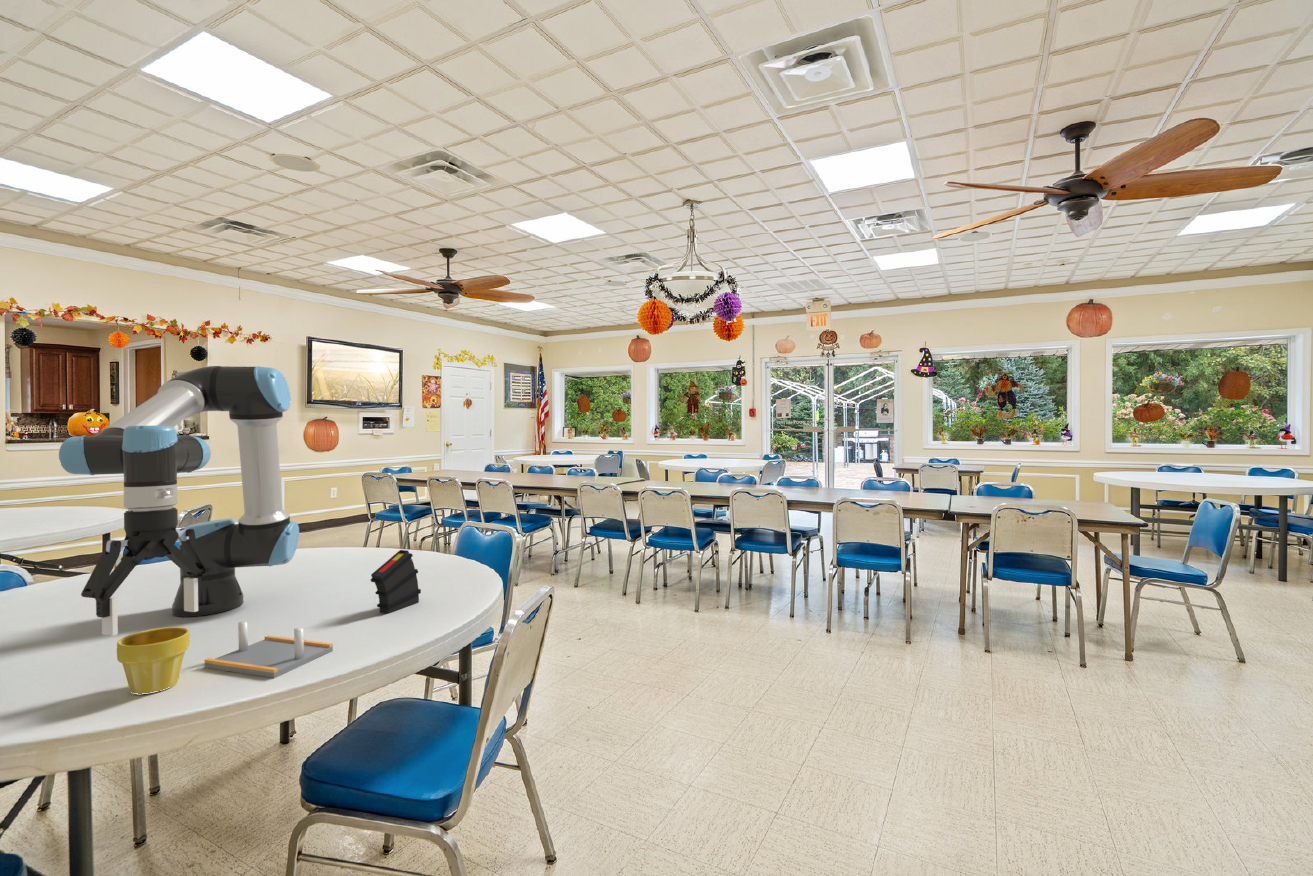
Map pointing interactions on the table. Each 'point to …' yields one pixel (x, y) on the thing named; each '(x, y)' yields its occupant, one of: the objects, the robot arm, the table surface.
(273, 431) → the robot arm
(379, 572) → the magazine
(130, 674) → the plant pot
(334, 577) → the table surface
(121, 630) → the table surface
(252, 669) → the tray
